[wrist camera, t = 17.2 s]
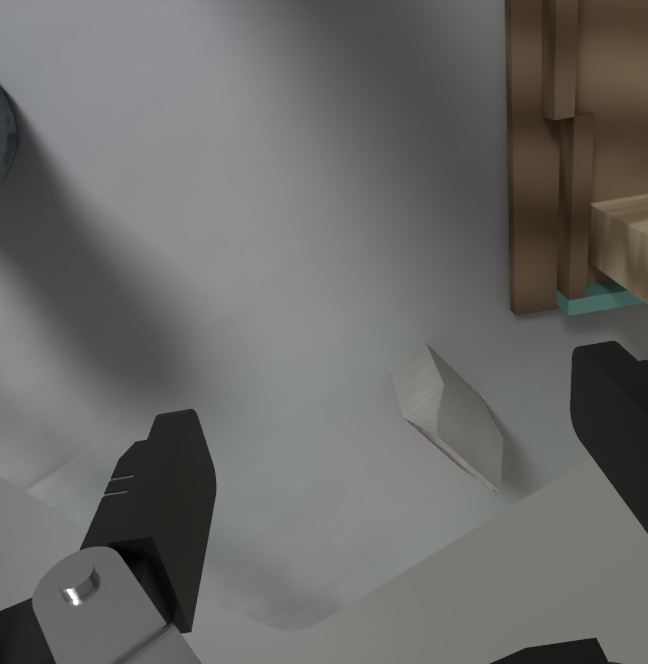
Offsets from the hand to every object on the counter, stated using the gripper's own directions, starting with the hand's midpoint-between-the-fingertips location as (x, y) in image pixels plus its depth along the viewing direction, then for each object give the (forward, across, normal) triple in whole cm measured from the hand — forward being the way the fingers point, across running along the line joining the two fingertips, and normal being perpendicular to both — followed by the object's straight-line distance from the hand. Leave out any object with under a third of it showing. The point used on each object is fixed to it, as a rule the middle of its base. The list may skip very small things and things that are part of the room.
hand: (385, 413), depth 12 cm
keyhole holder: (+28, -19, 0) cm, 34 cm away
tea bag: (+28, -6, +18) cm, 34 cm away
